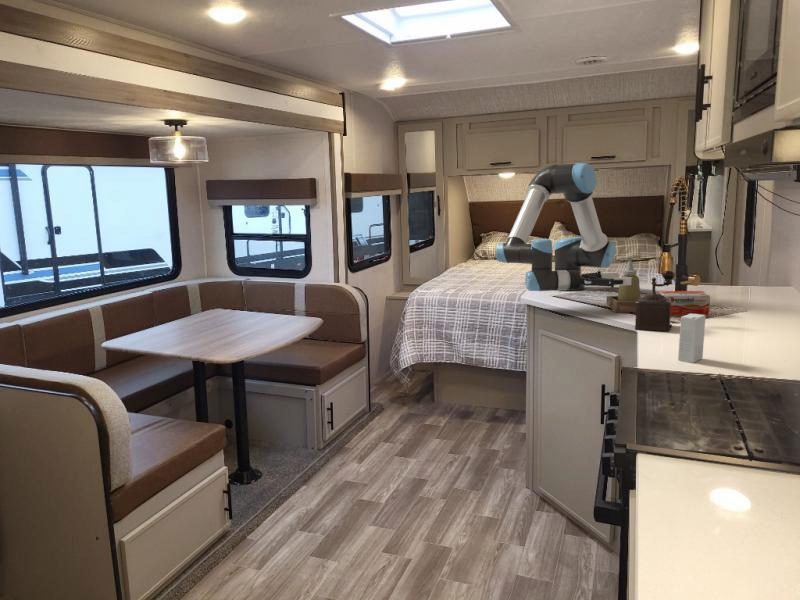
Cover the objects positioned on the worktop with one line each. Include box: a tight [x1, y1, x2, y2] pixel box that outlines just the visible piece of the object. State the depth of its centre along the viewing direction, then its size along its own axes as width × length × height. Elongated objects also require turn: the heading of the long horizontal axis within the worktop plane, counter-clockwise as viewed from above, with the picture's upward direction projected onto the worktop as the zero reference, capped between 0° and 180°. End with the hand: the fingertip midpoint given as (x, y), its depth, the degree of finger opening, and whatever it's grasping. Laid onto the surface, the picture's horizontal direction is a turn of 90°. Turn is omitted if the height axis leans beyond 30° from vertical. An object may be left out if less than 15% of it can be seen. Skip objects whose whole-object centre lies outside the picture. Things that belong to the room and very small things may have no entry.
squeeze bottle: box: [617, 260, 641, 302], centre depth 233 cm, size 8×8×18 cm
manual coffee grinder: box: [634, 270, 676, 333], centre depth 204 cm, size 16×11×18 cm
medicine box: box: [659, 290, 711, 317], centre depth 222 cm, size 15×8×8 cm, turn 81°
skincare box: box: [677, 314, 706, 364], centre depth 165 cm, size 6×4×12 cm
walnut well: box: [605, 294, 644, 314], centre depth 234 cm, size 13×13×4 cm
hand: (624, 278), depth 232 cm, fingers open, 13 cm apart
